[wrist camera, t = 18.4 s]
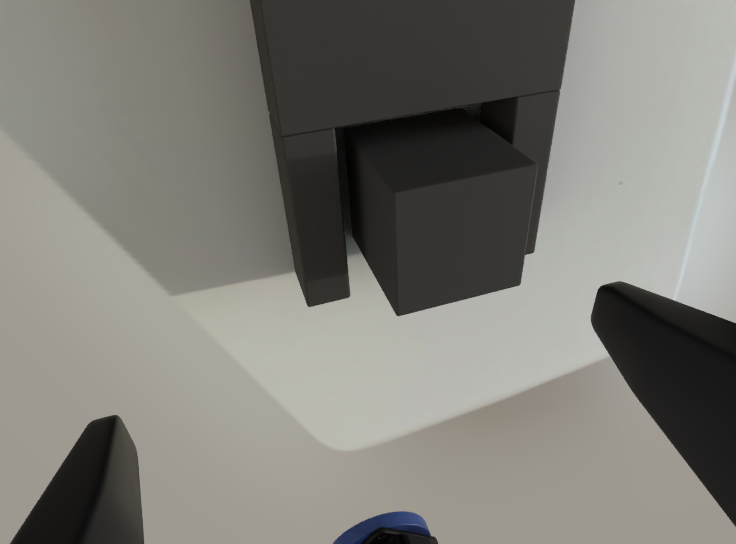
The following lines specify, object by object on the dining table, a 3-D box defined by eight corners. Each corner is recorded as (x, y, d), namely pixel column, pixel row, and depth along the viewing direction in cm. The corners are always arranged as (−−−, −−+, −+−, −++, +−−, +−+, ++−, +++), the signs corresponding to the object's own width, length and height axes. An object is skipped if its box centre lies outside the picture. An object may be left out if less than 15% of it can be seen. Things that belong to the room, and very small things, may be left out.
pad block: (455, 214, 24) (521, 285, 19) (352, 237, 23) (396, 317, 18) (461, 107, 21) (539, 163, 16) (343, 127, 20) (393, 193, 15)
